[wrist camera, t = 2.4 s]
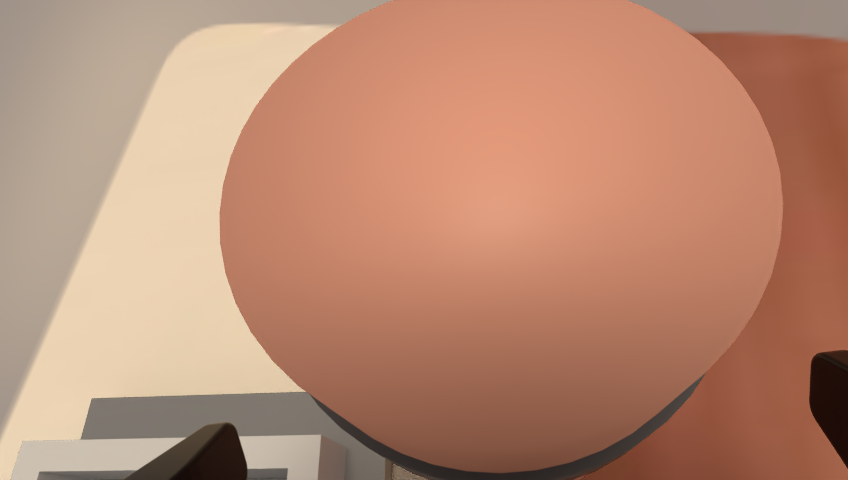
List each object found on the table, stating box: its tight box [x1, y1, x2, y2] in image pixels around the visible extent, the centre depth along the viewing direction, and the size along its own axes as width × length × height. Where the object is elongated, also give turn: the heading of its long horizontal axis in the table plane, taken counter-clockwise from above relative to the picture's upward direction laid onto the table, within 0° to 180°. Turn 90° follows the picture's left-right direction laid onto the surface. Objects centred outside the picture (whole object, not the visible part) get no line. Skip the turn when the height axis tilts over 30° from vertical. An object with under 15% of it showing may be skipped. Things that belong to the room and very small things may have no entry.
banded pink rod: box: [220, 0, 783, 480], centre depth 11 cm, size 5×5×14 cm
